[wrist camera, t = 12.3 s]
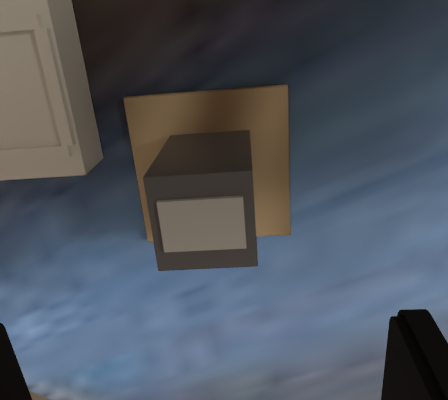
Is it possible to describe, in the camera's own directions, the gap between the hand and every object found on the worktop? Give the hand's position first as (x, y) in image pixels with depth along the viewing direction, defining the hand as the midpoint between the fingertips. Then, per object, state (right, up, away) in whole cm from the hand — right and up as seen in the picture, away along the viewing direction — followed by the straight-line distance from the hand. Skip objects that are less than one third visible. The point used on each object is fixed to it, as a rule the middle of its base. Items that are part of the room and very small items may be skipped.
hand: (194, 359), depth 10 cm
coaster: (0, +6, +15) cm, 16 cm away
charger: (0, +6, +14) cm, 15 cm away
